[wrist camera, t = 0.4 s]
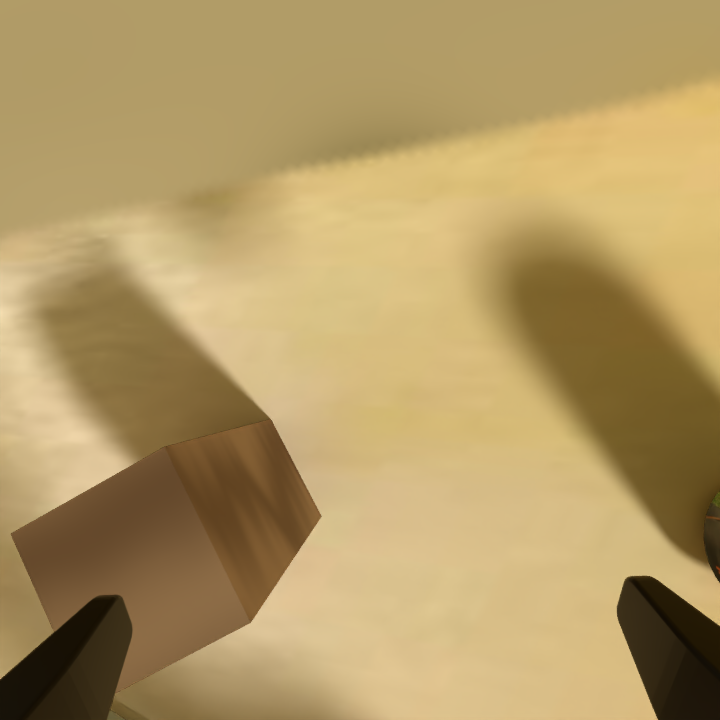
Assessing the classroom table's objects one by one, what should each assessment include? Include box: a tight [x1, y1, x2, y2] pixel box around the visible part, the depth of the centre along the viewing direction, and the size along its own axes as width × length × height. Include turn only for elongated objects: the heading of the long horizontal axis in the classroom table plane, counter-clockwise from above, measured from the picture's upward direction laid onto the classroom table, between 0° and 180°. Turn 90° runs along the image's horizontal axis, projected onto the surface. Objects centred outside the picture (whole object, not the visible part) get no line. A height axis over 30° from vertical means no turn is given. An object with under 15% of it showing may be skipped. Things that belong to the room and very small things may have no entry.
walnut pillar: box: [11, 419, 321, 693], centre depth 18 cm, size 6×6×10 cm
